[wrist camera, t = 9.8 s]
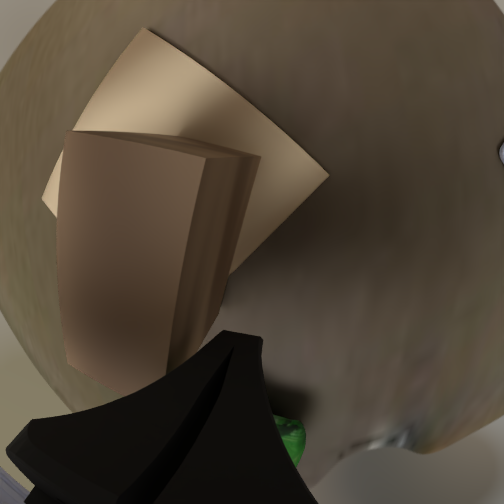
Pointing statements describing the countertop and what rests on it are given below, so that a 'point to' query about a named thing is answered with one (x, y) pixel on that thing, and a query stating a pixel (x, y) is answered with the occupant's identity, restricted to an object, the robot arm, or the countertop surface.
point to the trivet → (199, 129)
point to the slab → (144, 249)
